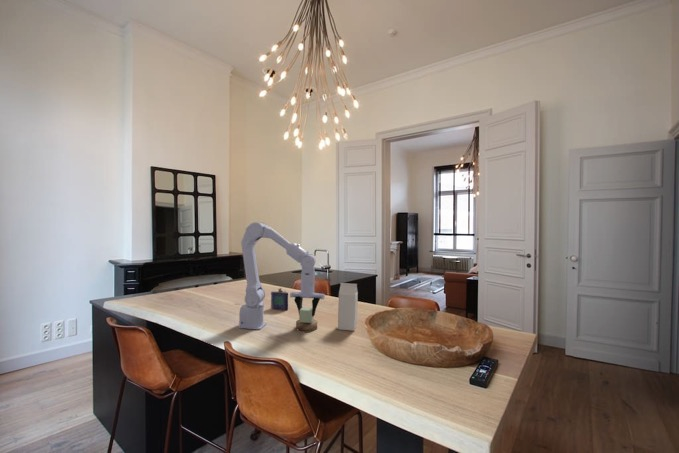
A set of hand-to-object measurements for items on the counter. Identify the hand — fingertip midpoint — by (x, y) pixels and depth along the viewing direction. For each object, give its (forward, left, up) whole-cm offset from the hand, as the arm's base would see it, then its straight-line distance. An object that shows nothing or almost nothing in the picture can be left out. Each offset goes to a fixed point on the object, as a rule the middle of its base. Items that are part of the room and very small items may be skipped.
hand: (306, 315), depth 131 cm
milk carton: (+17, +4, -6) cm, 18 cm away
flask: (-20, +24, -6) cm, 32 cm away
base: (0, 0, -5) cm, 5 cm away
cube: (0, 0, -2) cm, 2 cm away
